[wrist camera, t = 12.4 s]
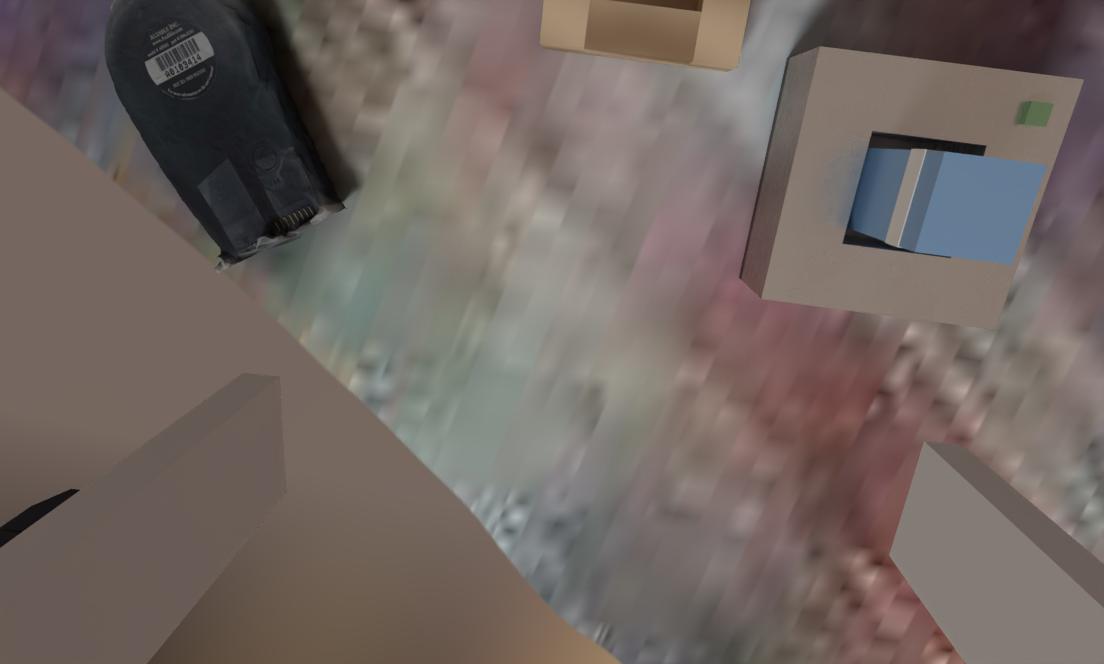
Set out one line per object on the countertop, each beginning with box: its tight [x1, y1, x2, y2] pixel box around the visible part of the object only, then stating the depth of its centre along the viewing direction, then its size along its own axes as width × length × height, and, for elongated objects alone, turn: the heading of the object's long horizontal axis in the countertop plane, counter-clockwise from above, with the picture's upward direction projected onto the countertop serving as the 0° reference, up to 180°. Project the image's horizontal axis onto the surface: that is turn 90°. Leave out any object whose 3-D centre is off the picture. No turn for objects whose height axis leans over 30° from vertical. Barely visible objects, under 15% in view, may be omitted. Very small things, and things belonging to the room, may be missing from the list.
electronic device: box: [105, 0, 345, 273], centre depth 35 cm, size 9×6×15 cm
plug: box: [847, 148, 1047, 265], centre depth 30 cm, size 4×4×10 cm
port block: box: [739, 46, 1084, 330], centre depth 33 cm, size 12×12×5 cm
